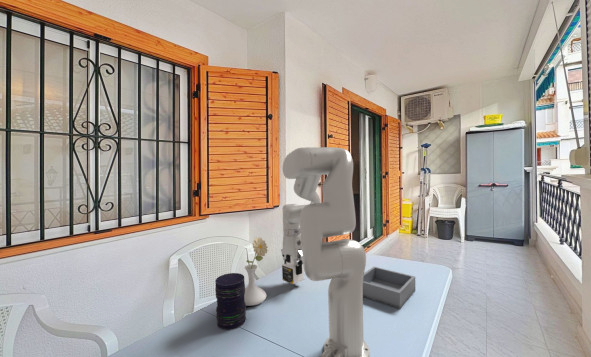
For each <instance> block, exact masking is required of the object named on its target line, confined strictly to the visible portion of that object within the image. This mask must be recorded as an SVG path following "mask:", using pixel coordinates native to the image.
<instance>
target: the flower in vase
mask: <svg viewBox="0 0 591 357" xmlns="http://www.w3.org/2000/svg"><path fill="white" fill-rule="evenodd" d="M252 248H253V252H255V254H254V257H253V260H249V259H246V263H247V264H248V263H250V264H248V265H245V266H244V269H245V272H246V273H247V276H248V278H247V279H248V284H247V287H246V286H245V294H244V300H245V304H246V307H248V306H250V307H251V306H256V305H260V304H261V303H263V302H265V300H266V298H267V293H266V291H265V290H264V289H263V288H261V287H259V286H257V285H256V283H255V273H256V271H257V269H258V265H257V264H254V262H255V260H256V261H257V262H260V261H263V259H264V257H266V254H267V253H268V252H269V251H268V245H267V243H266V241H265V240H263V238H262V237H260V236H259V237H255V238H254V240H253V241H252Z"/></svg>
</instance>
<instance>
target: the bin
mask: <svg viewBox="0 0 591 357" xmlns="http://www.w3.org/2000/svg"><path fill="white" fill-rule="evenodd" d="M415 292H416V276H415V275H412V274H406V273H403V272H397V271H395V270H391V269H386V268H381V267H378V266H372V267H371V268H370V269H368V270H367V271H364V277H363V298H365V299H368V300H371V301H373V302H374V301H375V302H377V303H380V304H382V305H386V306H390V307H393V308H396V309H398V310H401V309H402V308H403V306H404V305H405V304H406V303H407V302H408V300H410V298H411V296H413V294H414V293H415Z"/></svg>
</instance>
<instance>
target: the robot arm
mask: <svg viewBox="0 0 591 357" xmlns="http://www.w3.org/2000/svg"><path fill="white" fill-rule="evenodd" d="M282 174H283V176H284V177H285V178H286V179H288V180H294V179H295V181H294V184H293V192H294V193H295V195H297V196H298V197H299V198H301V199H304V200H306V201H308V202H310V203H308V204H296V203H287V204H284V205H282V226H283V227H282V230H283V231H282V232H283V237H282V248H281V249H280V252H281V254H282V255H281V256H282V258H283V260H282V261H284V263H283V264H285V263H286V254H288V255H290V256H291V257H292V259H294V260H295V262H296V275H299V274H302V265H303V267H304V275H305V276H306V277H307V278H308V279H309V280H310V281H312V282H320V281H321V282H322V281H325V280H326V281H327V280H330V282H329V285H328V290H327V291H328V293H327V297H328V301H327V302H328V304H327V305H328V338H326V340H325V342H324V344H323V352H322V353H321V354H320V357H370V355H371V354H370V353H371V352H370V347H369V345H368V344H367V342H366V341H365V340H364V339H365V338H364V297H363V277H364V273H365V272H366V265H367V254H366V250H365V248H364V246H363V245H362V244H361V243H360V242H359V241H357V240H354V239H350V240H348V239H349V238H346V239H347V240H341V239H338V240H331V241H325V242H323V239H324V238H330V237H331V238H332V237H337V236H344V235H349V234H352V233H353V232H354V231H355V229H356V225H357V222H356V221H357V219H356V208H355V199H354V191H353V190H354V189H353V176H354V175H353V174H354V160H353V157H352V155H351V153H350V151H349V150H347V149H345V148H341V147H333V146H332V147H330V146H329V147H328V146H326V147H325V146H323V147H322V146H321V147H320V146H319V147H314V146H313V147H297V148H295V149H294V150H292V151H291V152H289V153H288V154H287V155H286V156H285V158H284V160H283V163H282ZM322 175H323V176H326V178H325V179H324V181H323V184H322V197H323V198H322V199H323V200H322V202H321V198H320V196H319V194H318V192H317V188H318V186H319V183H320V180H321V177H322ZM297 257H298V258H297ZM298 259H299V262H298Z"/></svg>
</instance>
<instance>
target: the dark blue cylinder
mask: <svg viewBox="0 0 591 357" xmlns="http://www.w3.org/2000/svg"><path fill="white" fill-rule="evenodd" d="M214 282H215V288H214V289H215V298H216V309H215V312H216V324H217V327H218V328H219V329H221V330H224V331H231V330H236V329H238V328H241V327H242V326H243V325H244V324H245V323H246V320H247V317H246V313H247V309H246V307H247V305H246V304H245V300H244V294H245V288H246V282H245V275H244V274H243V273H237V272H236V273H235V272H231V273H230V272H229V273H225V274H221V275H220V276H218V277H217V278H216V279H215V281H214Z"/></svg>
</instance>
